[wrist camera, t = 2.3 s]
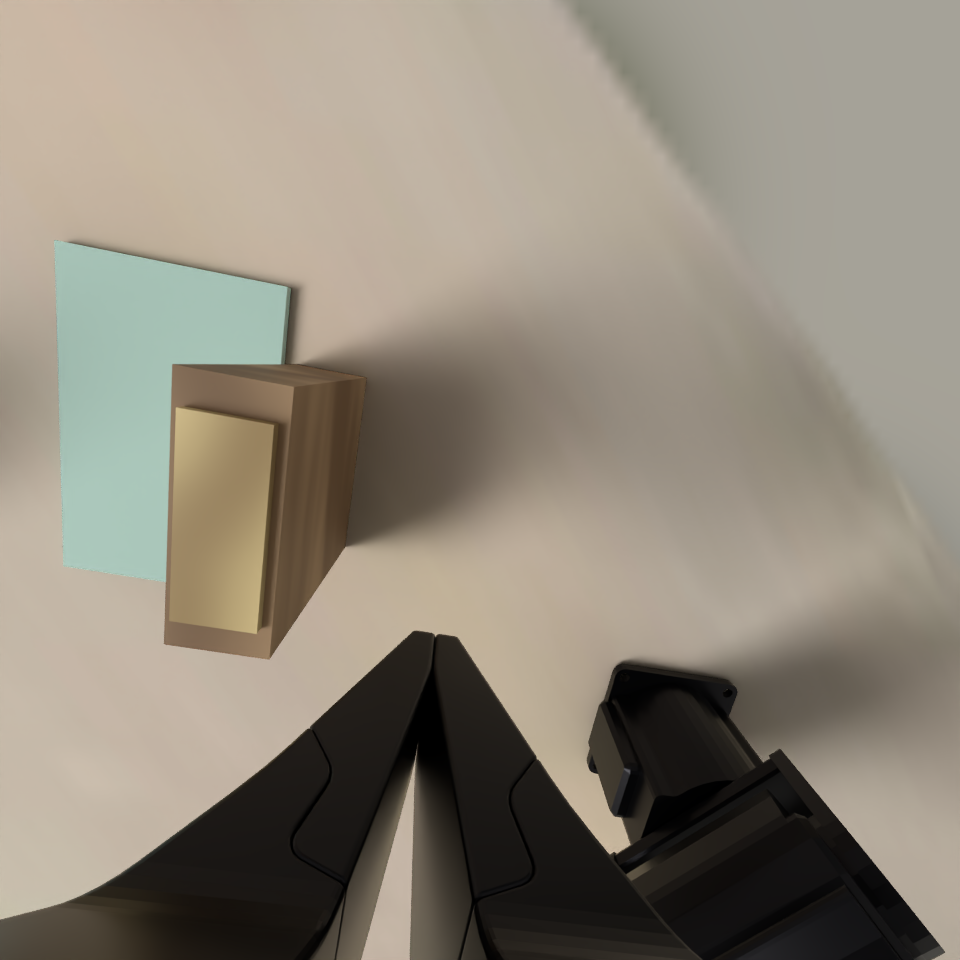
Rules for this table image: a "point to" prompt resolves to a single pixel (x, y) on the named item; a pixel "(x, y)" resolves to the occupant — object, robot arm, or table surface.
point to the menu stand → (255, 498)
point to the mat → (139, 389)
